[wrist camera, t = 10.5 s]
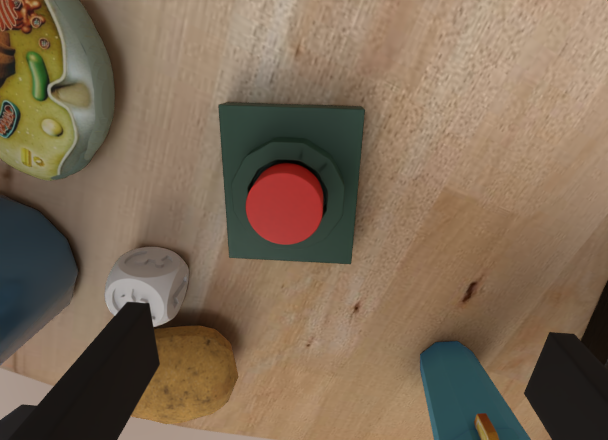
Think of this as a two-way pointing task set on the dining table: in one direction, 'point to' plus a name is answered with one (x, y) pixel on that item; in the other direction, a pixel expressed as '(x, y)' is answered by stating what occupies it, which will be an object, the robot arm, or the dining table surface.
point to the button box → (298, 150)
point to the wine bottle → (30, 274)
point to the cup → (464, 397)
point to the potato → (188, 375)
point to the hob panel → (599, 330)
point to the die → (148, 282)
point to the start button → (285, 204)
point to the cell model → (52, 87)
